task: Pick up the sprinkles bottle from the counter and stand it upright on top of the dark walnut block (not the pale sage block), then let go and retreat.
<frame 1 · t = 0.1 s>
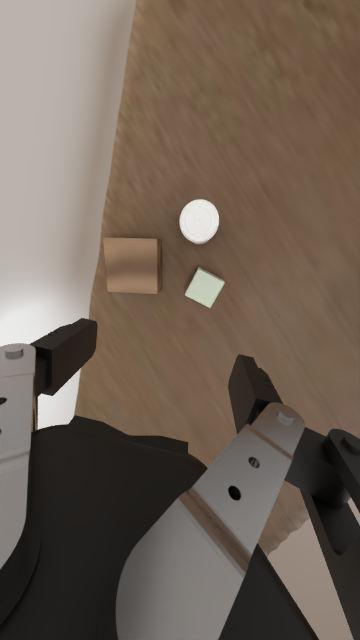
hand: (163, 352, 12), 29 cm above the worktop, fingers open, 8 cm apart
walnut block: (137, 264, 39), on the worktop
sage block: (204, 285, 39), on the worktop
sprinkles bottle: (199, 230, 36), on the worktop
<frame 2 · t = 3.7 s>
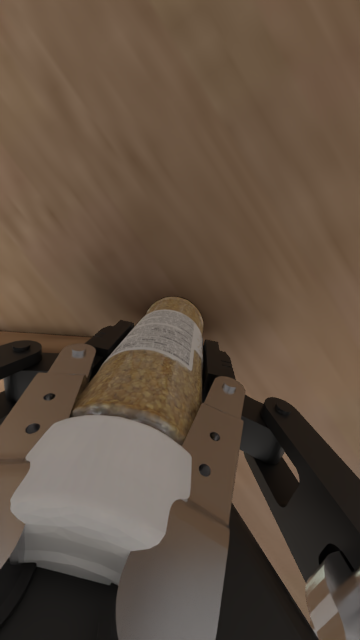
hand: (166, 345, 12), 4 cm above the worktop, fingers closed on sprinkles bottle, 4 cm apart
walnut block: (50, 379, 19), on the worktop
sprinkles bottle: (174, 322, 16), on the worktop, touching gripper
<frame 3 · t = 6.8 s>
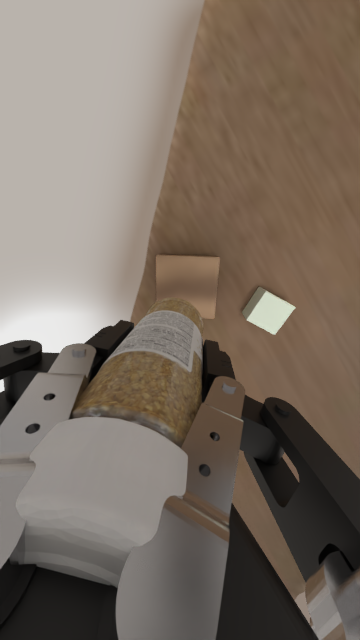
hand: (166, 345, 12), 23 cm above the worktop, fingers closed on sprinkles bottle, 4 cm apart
walnut block: (187, 283, 34), on the worktop
sage block: (262, 306, 34), on the worktop
sprinkles bottle: (174, 323, 16), point 19 cm above the worktop, touching gripper
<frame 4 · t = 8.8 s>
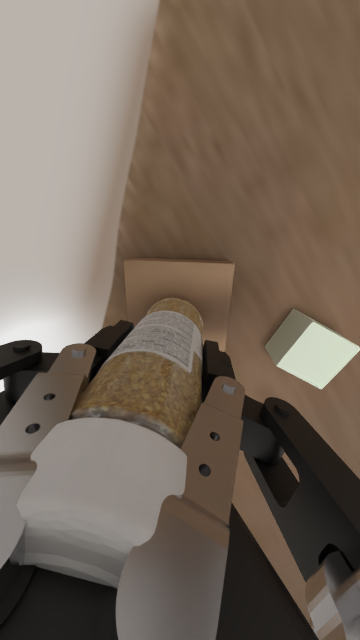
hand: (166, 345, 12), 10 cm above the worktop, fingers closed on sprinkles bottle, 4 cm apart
walnut block: (180, 303, 22), on the worktop
sage block: (297, 338, 22), on the worktop
sprinkles bottle: (174, 323, 16), point 6 cm above the worktop, touching gripper
when the fingers open (8 cm above the worktop, at t = 9.9 s): sprinkles bottle stays where it is, resting on walnut block.
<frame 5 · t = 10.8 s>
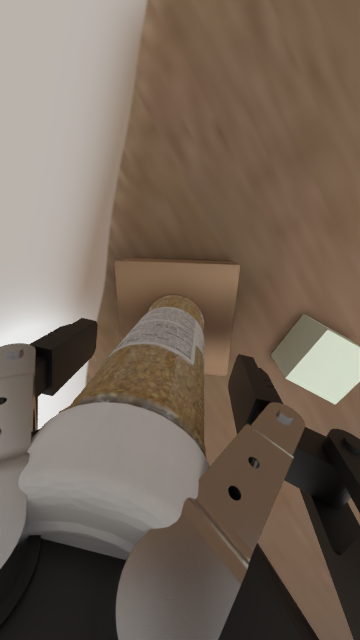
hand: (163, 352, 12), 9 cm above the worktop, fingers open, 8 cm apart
walnut block: (179, 308, 20), on the worktop
sage block: (307, 346, 20), on the worktop
sprinkles bottle: (175, 320, 16), point 4 cm above the worktop, touching walnut block
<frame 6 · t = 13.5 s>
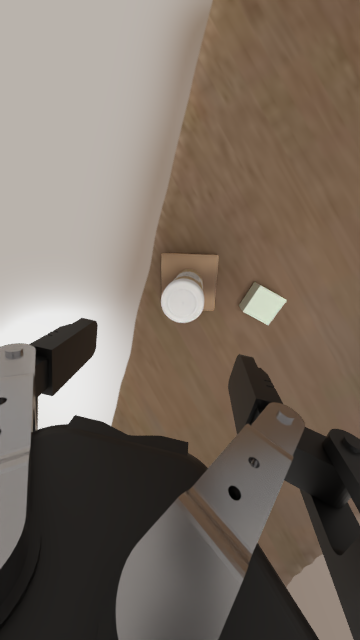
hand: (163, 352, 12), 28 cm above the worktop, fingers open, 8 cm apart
walnut block: (189, 279, 38), on the worktop
sage block: (258, 300, 38), on the worktop
sprinkles bottle: (189, 282, 34), point 4 cm above the worktop, touching walnut block
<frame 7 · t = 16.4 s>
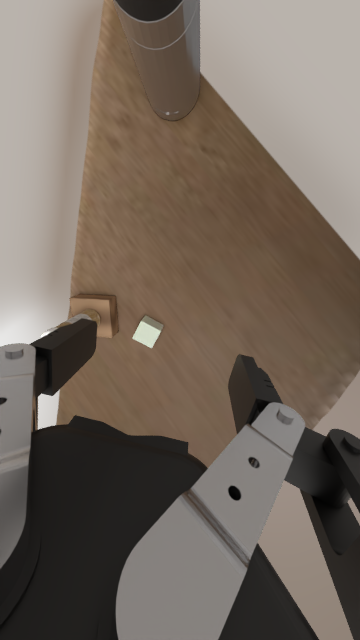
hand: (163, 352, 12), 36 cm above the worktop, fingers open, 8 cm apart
walnut block: (99, 313, 51), on the worktop
sage block: (150, 328, 51), on the worktop
sprinkles bottle: (91, 317, 47), point 4 cm above the worktop, touching walnut block
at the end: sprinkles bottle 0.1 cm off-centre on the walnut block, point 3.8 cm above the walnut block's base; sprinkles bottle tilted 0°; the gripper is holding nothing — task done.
